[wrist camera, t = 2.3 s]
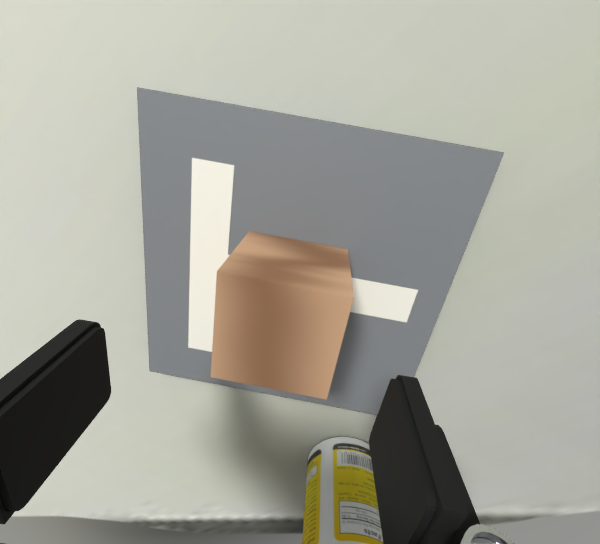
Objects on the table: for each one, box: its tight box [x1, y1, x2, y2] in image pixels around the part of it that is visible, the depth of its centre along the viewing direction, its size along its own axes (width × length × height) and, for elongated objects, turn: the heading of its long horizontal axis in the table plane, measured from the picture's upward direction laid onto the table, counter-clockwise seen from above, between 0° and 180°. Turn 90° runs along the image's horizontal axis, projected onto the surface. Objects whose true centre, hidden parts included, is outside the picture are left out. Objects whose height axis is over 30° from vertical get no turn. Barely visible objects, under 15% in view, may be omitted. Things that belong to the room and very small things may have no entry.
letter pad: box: [137, 87, 504, 415], centre depth 18 cm, size 16×16×1 cm
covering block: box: [211, 231, 354, 399], centre depth 15 cm, size 5×5×5 cm
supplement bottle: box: [302, 437, 383, 544], centre depth 19 cm, size 5×5×10 cm
